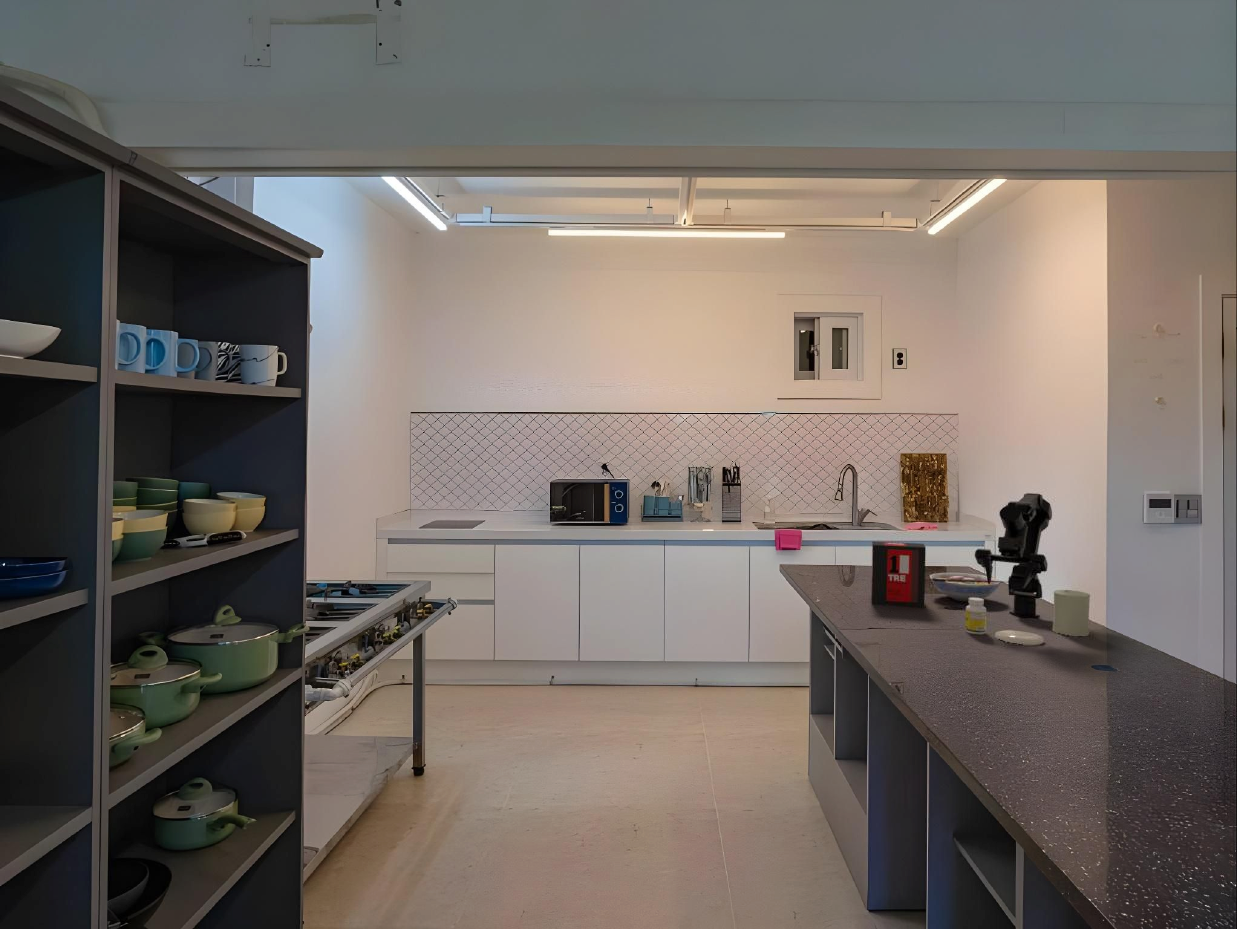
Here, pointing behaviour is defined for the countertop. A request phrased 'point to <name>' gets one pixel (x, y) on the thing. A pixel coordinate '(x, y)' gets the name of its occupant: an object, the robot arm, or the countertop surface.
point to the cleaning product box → (898, 574)
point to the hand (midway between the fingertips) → (1005, 585)
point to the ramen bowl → (964, 585)
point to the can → (1071, 613)
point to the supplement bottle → (976, 616)
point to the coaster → (1019, 637)
